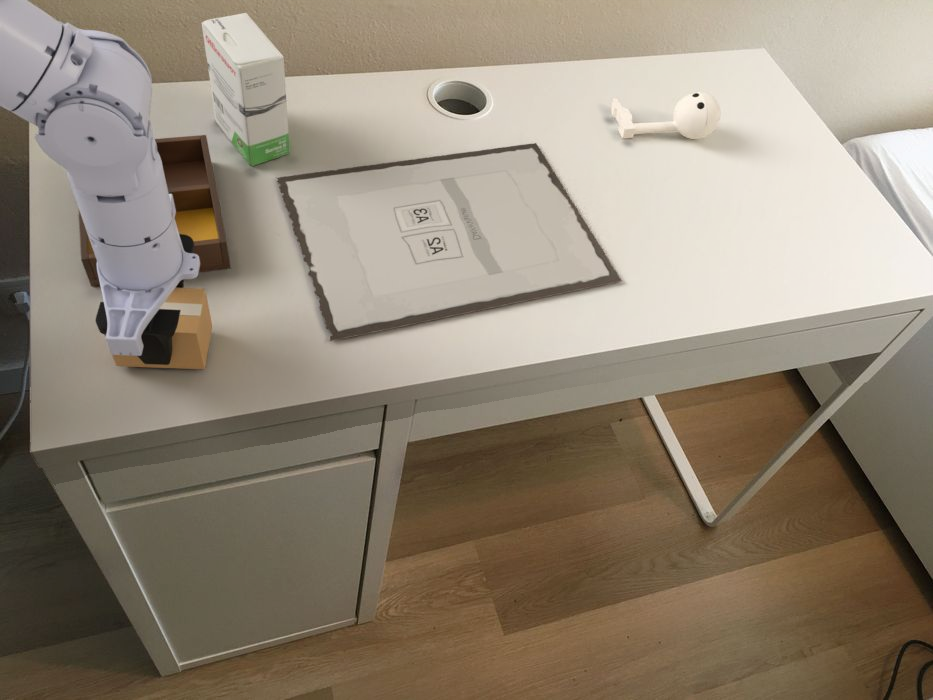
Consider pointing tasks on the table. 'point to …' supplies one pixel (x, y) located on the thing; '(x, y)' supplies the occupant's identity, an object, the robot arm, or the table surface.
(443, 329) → the table surface
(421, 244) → the picture frame
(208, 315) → the parcel
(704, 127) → the figurine
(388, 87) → the table surface
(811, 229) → the table surface
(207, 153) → the tray
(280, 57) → the ink box
